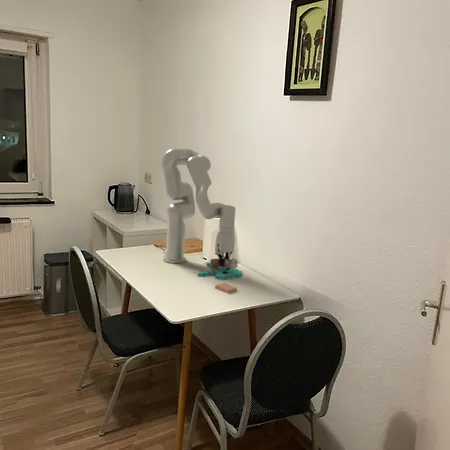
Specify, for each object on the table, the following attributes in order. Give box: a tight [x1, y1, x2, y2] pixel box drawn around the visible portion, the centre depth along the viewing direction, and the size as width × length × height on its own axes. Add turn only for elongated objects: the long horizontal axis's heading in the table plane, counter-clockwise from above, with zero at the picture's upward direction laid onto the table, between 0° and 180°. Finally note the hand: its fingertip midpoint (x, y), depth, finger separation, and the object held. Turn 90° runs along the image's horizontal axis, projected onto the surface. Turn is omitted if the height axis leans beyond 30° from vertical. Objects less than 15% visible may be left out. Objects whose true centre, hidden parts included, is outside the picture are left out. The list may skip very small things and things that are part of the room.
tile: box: [214, 282, 238, 294], centre depth 209 cm, size 2×6×8 cm
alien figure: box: [197, 262, 243, 281], centre depth 233 cm, size 20×2×20 cm
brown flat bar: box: [210, 258, 238, 269], centre depth 231 cm, size 16×3×4 cm, turn 46°
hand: (223, 264), depth 232 cm, fingers closed on brown flat bar, 3 cm apart
